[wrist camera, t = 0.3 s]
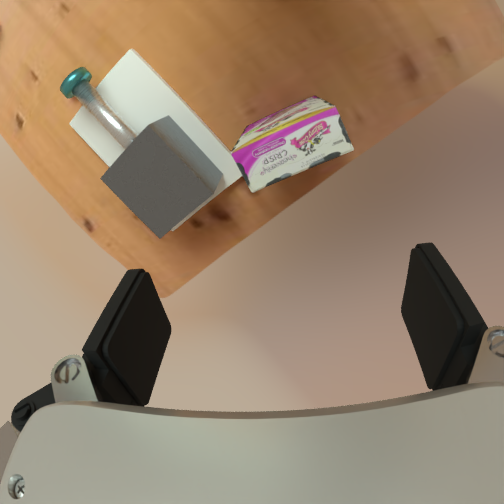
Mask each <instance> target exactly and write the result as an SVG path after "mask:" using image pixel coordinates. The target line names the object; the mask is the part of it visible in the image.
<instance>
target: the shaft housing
mask: <svg viewBox="0 0 504 504" xmlns="http://www.w3.org/2000/svg"><path fill="white" fill-rule="evenodd" d="M222 175H223V173H222V172H221V171H220V170H219V169H218V168H217V167H216V166H215V165H214V163H213V162H212V161H211V160H210V159H209V158H208V157H207V156H206V155H205V154H204V153H203V151H202V150H201V149H200V148H199V147H198V146H197V145H196V144H195V143H194V142H193V141H192V140H191V139H190V137H189V136H188V135H187V134H186V133H185V132H184V131H183V130H182V129H181V128H180V127H179V126H178V125H177V124H176V122H175V121H174V120H173V119H172V118H171V117H170V116H169V115H168V116H166V117H164V118H161V119H159V120H157V121H155V122H153V123H151V124H149V125H148V126H147V127H146V128H145V129H144V130H143V131H142V132H141V133H140V134H139V135H138V136H137V137H136V138H135V139H134V140H133V141H132V143H131V144H130V145H129V146H128V147H127V148H126V149H125V150H124V151H123V153H122V154H121V155H120V156H119V157H118V158H117V159H116V161H115V162H114V163H113V164H112V165H111V166H110V168H109V169H108V170H107V171H106V172H105V174H104V175H103V176H102V177H101V178H100V179H101V180H102V181H103V182H104V183H105V184H106V185H107V186H108V187H109V188H110V189H111V190H112V191H113V192H114V193H115V194H116V195H117V196H118V197H119V198H120V199H121V200H122V201H123V202H124V203H125V204H126V205H127V206H128V207H129V209H130V210H131V211H132V212H133V213H134V214H135V215H136V216H137V217H138V218H139V219H140V220H141V221H142V222H143V223H144V224H145V225H146V226H148V227H149V228H150V229H151V230H152V231H153V232H154V233H155V234H156V235H157V236H158V237H159V238H162V237H163V236H164V235H165V234H166V233H167V232H169V231H170V230H171V229H172V228H173V227H174V226H176V225H177V224H178V223H179V222H180V221H182V220H183V219H184V218H185V217H186V216H188V215H189V214H190V213H191V212H192V211H194V210H195V209H196V208H197V207H198V206H200V205H201V204H202V203H203V202H205V201H206V200H207V199H208V198H210V197H211V196H212V195H213V194H214V192H215V190H216V188H217V186H218V184H219V182H220V179H221V177H222Z"/></svg>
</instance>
